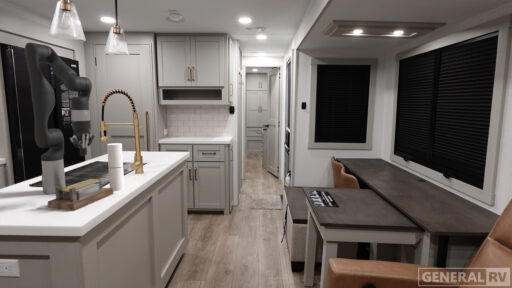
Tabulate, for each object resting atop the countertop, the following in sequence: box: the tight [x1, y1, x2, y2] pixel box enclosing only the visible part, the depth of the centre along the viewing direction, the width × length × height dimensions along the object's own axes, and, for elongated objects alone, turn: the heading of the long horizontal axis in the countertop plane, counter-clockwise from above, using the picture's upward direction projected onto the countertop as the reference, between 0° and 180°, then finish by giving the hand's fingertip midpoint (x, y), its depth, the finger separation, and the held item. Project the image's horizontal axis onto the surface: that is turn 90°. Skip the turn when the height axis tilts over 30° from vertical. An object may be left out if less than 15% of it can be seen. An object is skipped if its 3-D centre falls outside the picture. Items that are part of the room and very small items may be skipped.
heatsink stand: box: [47, 180, 114, 212], centre depth 135 cm, size 14×24×9 cm, turn 168°
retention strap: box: [59, 178, 100, 192], centre depth 134 cm, size 5×18×2 cm, turn 168°
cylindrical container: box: [106, 142, 125, 192], centre depth 153 cm, size 7×7×25 cm
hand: (83, 155), depth 135 cm, fingers closed
